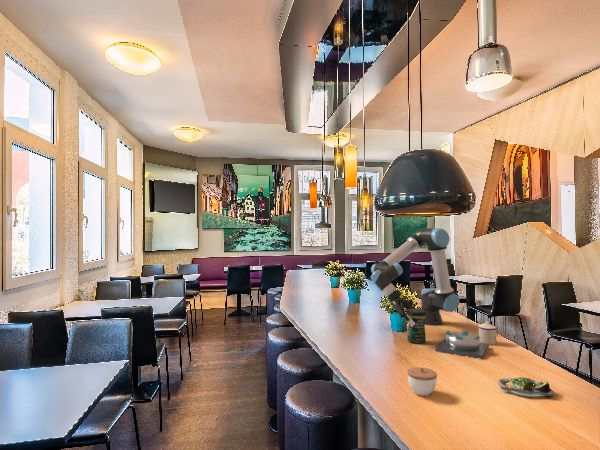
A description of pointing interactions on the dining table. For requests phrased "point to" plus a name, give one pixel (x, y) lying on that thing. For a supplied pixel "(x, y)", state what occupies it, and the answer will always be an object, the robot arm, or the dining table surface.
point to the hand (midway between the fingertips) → (417, 323)
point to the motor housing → (462, 344)
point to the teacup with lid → (487, 333)
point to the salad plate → (527, 387)
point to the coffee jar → (417, 326)
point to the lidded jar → (422, 380)
